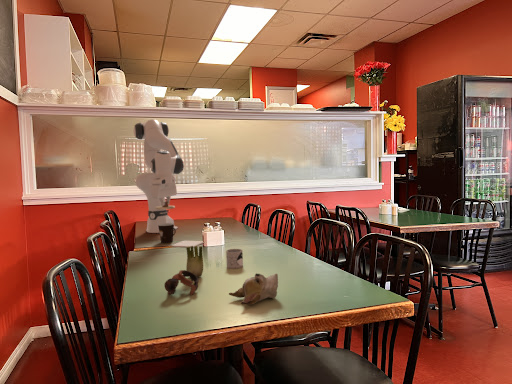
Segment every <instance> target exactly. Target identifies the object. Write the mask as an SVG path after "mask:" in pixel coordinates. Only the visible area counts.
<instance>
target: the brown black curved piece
mask: <svg viewBox="0 0 512 384" xmlns="http://www.w3.org/2000/svg"><path fill="white" fill-rule="evenodd" d="M189 276H190V279H191V280H190V279H189V278H188V277H189ZM199 282H200V280H199V277H197V276H196V275H194V274H193V273H191V272H189V271H187V270H185V269H183V270H182V269H181V270H179V272H178V273H176V274H174V275H173V276H172V277H171V278H168V279H167V280H166V281H165V282H164V289H165V291H167V294H168V296H169V295H175V293H176V290H177V287H178V286H179V283H180V284H182V285H185V286H186V287H189V288H190V292H189V295H190V296H193V295H194V294H195V292H196V291H197V290H198V288H199Z"/></svg>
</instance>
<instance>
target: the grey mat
mask: <svg viewBox="0 0 512 384" xmlns="http://www.w3.org/2000/svg"><path fill="white" fill-rule="evenodd" d="M203 241H204V240H201V241H199V240H181V241H179V242H177V243H174V244H171V247H173V248H186V247H191V246H193V249H194V246H197V247H198V246H201V245H202V244H204V243H205V242H203Z"/></svg>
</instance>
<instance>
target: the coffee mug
mask: <svg viewBox="0 0 512 384" xmlns="http://www.w3.org/2000/svg"><path fill="white" fill-rule="evenodd" d="M174 226H175V223H174V224H173V223H165V224H159V225H158V227H159V233H158V234H159V237H160V243H161V244H170V243H173V242H174V236H175V234H176V230H177V229H175V228H174Z"/></svg>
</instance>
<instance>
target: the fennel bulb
mask: <svg viewBox="0 0 512 384" xmlns="http://www.w3.org/2000/svg"><path fill="white" fill-rule="evenodd" d="M198 246H199V247H198ZM198 246H194V248H193V246H191V247H185V248H186V255H187V259H186V267H185V268H186V271H189V272H191V273H193V274H194V275H196V276H197V277H198V278H200V277H202V276H203V272H204V259H203V258H204V257H203V246H202V245H198ZM189 277H190V276H189ZM190 278H191V277H190Z"/></svg>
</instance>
